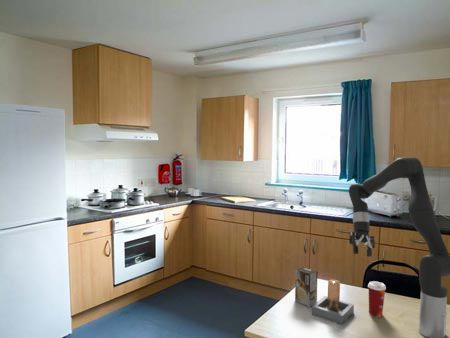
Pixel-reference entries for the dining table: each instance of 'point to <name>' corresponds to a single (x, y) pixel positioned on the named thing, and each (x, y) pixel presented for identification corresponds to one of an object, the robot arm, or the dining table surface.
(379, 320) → the dining table surface
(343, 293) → the dining table surface
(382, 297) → the paper cup
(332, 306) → the copper tin
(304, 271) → the coffee box
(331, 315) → the grey tray
